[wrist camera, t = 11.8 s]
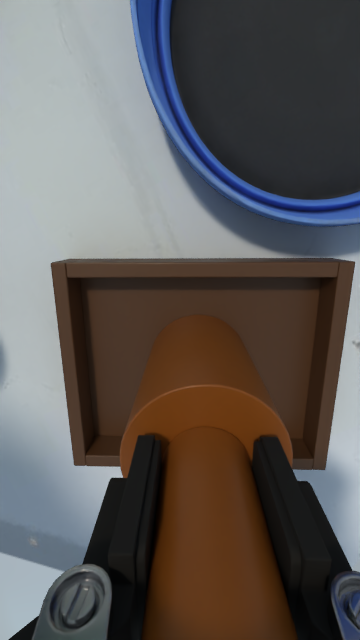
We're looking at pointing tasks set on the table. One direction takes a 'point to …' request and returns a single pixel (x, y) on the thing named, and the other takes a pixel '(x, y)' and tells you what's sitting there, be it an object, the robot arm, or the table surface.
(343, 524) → the table surface
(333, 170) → the bowl
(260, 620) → the bottle
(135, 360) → the tray
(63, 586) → the robot arm
